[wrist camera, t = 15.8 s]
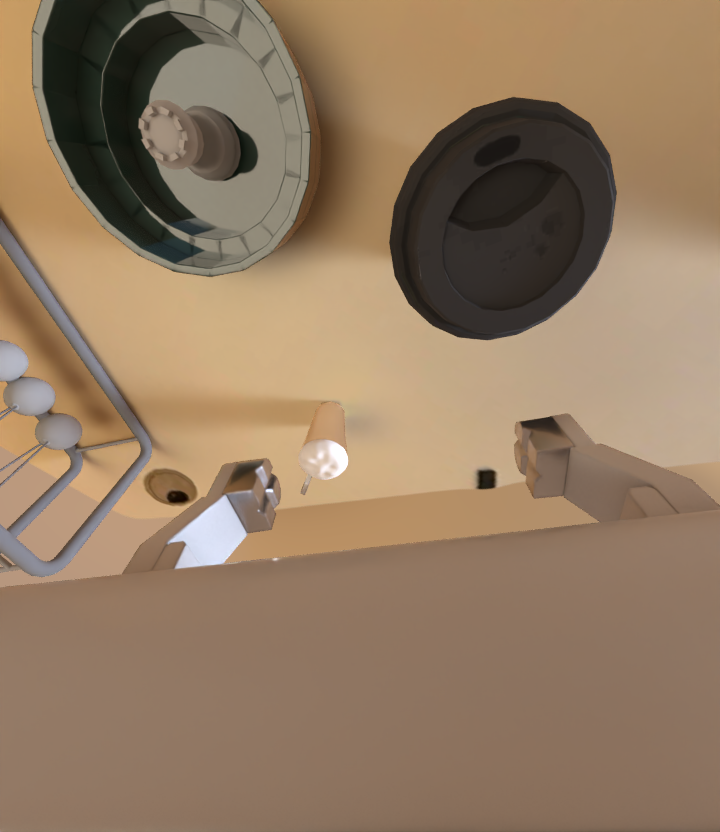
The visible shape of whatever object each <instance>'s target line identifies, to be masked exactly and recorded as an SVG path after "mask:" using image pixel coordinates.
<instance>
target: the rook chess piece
mask: <svg viewBox="0 0 720 832" xmlns="http://www.w3.org/2000/svg"><path fill="white" fill-rule="evenodd" d="M138 128H139V129H141V133H142V137H143V139H141V140H142V142H143V144H144V145H145V147H146V149H148V151H149V152H150V154H151V155H152V156H153V157H154V158H155V159H156V160H157V161H158V162H159V163H160V164H161V165H163V166H165V167H168V168H170V169H181V170H182V169H184V168H186V167H188V168H189V169H190V170H191V171H192V172H193V173H194V174H195V175H197V176H200V177H202V178H204V179H206V180H210V181H222V180H224V179H226V178H228V177H230V176H232V174H233V173H234V171H235V170H236V169H237V167H238V164H239V159H240V155H241V151H240V143H239V138H238V136H237V133H236V131H235V129H234V127H233V125H232V123H231V122H230V121H229V120H228V119H227V118H226V117H225V116H224V114H223V113H221V112H219V111H217V110H215V109H213V108H211V107H207V106H192V107H190V108H188V109H186V110H184V111H183V109H182V108H181V107H180V106H178V105H176V104H174V103H172V102H170V101H168V100H155V101H154V102H152V103H150V104H149V105H147V107H146V108H145V109H144V112H143V114H142V116H141V118H139V127H138Z"/></svg>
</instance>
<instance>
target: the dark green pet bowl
mask: <svg viewBox="0 0 720 832" xmlns="http://www.w3.org/2000/svg"><path fill="white" fill-rule="evenodd" d="M32 85H33V91H34V94H35V98H36V102H37V106H38V109H39V113H40V117H41V121H42V124H43V128H44V132H45V136H46V139H47V142H48V144H49V146H50V148H51V150H52V152H53V154H54V155H55V157H56V159H57V161H58V163H59V165H60V167H61V169H62V171H63V173H64V175H65V177H66V179H67V181H68V183H69V185H70V186H71V188H72V190H73V191H74V192H75V194H76V195H77V196H78V197H79V199H80V200H81V201H82V202H83V203H84V205H85V206H86V207H87V208H88V210H89V211H90V212H91V213H92V214H93V216H94V217H95V218H96V219H97V221H98V222H99V223H100V224H101V226H102V227H104V229H106V230H107V231H108V232H109V233H111V234H112V235H113V236H115V237H116V238H117V239H118V240H120V241H121V242H122V243H123V244H125V245H126V246H127V247H128V248H130V249H131V250H132V251H134V252H135V253H136V254H137V255H139V256H141V257H143V258H145V259H148V260H150V261H152V262H154V263H156V264H159V265H161V266H163V267H165V268H167V269H170V270H172V271H174V272H179V273H186V274H193V275H201V276H208V277H213V276H218V275H223V274H228V273H233V272H238V271H243V270H245V269H247V268H249V267H250V266H252V265H253V264H255V263H257V262H258V261H260V260H261V259H263V258H265V257H266V256H268V255H269V254H271V253H272V252H274V251H275V250H276V249H278V248H279V247H280V246H282V245H283V244H284V243H286V242H287V241H288V240H289V239H290V238H291V236H292V235H293V234H294V232H295V231H296V230H297V228H298V227H299V226H300V225H301V223H302V222H303V221H304V219H305V218H306V217H307V215H308V212H309V209H310V206H311V203H312V201H313V198H314V195H315V192H316V189H317V186H318V184H319V176H320V159H321V143H322V142H321V135H320V130H319V125H318V120H317V114H316V109H315V104H314V99H313V96H312V93H311V91H310V89H309V86H308V84H307V82H306V80H305V78H304V76H303V73H302V71H301V69H300V67H299V65H298V63H297V61H296V58H295V56H294V54H293V52H292V50H291V49H290V47H289V45H288V44H287V42H286V40H285V38H284V37H283V35H282V33H281V31H280V30H279V28H278V26H277V24H276V23H275V21H274V20H273V18H272V17H271V16H270V14H269V13H268V12H267V11H266V10H265V8H264V7H263V6H262V5H261V3H260V2H259V1H258V0H41V2H40V6H39V9H38V12H37V15H36V18H35V21H34V24H33V27H32ZM155 100H168V101H170V102H172V103H174V104H176V105H178V106H180V107H181V108H182V109H183V111H184V110H186V109H188V108H190V107H192V106H207V107H211V108H213V109H215V110H217V111H219V112H221V113H223V114H224V116H225V117H226V118H227V119H228V120H229V121H230V122H231V123H232V125H233V127H234V129H235V131H236V133H237V136H238V138H239V143H240V151H241V155H240V159H239V164H238V167H237V169H236V170H235V171H234V173H233V174H232V176H230V177H228V178H226V179H224V180H222V181H210V180H206V179H204V178H202V177H200V176H197V175H195V174H194V173H193V172H192V171H191V170H190V169H189V168H188V167H186V168H184V169H182V170H181V169H170V168H168V167H165V166H163V165H161V164H160V163H159V162H158V161H157V160H156V159H155V158H154V157H153V156H152V155H151V154H150V152H149V151H148V149H146V147H145V145H144V144H143V142H142V140H141V139H143V137H142V133H141V129H139V128H138V127H139V118H141V116H142V114H143V112H144V109H145V108H146V107H147V105H149V104H150V103H152V102H154V101H155Z"/></svg>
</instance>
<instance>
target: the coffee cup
mask: <svg viewBox="0 0 720 832" xmlns="http://www.w3.org/2000/svg"><path fill="white" fill-rule="evenodd" d="M616 194H617V192H616V186H615V181H614V175H613V170H612V164H611V159H610V155H609V153H608V151H607V150H606V148H605V147H604V145H603V143H602V142H601V140H600V139H599V137H598V135H597V134H596V132H595V131H594V129H593V127H592V126H591V124H590V123H589V122H587V121H586V120H584V119H583V118H581V117H579V116H578V115H576V114H575V113H573V112H572V111H570V110H569V109H567V108H565V107H564V106H562V105H561V104H559V103H557V102H549V101H541V100H533V99H525V98H516V97H512V98H508V99H505V100H501V101H497V102H494V103H490V104H487V105H483V106H479V107H476V108H473V109H471V110H470V111H468V112H467V113H466V114H464V115H463V116H461V117H460V118H458V119H457V120H455V121H454V122H453V123H451V124H450V125H448V126H447V127H445V128H444V129H443V130H441V131H440V132H438V133H437V134H436V135H435V137H434V138H433V139H432V140H431V142H430V143H429V144H428V145H427V147H426V148H425V149H424V151H423V152H422V153H421V154H420V156H419V157H418V158H417V159H416V161H415V162H414V163H413V164H412V166H411V167H410V169H409V171H408V174H407V176H406V179H405V181H404V183H403V186H402V188H401V190H400V193H399V195H398V197H397V200H396V202H395V205H394V211H393V219H392V227H391V234H390V242H389V243H390V249H391V256H392V262H393V268H394V274H395V278H396V280H397V281H398V283H399V285H400V287H401V289H402V291H403V293H404V295H405V297H406V299H407V301H408V303H409V304H410V305H411V306H412V307H413V308H414V309H415V310H416V311H417V312H418V313H419V314H420V315H421V316H422V317H423V318H424V319H426V320H427V321H428V322H429V323H430V324H432V325H433V326H434V327H437V328H439V329H441V330H443V331H446V332H448V333H450V334H452V335H454V336H457V337H460V338H470V339H480V340H492V339H497V338H502V337H507V336H512V335H517V334H519V333H521V332H523V331H526V330H528V329H530V328H532V327H534V326H536V325H538V324H540V323H542V322H544V321H546V320H548V319H549V318H550V317H551V316H552V315H554V314H555V313H556V312H557V311H558V310H560V309H561V308H562V307H563V306H564V305H566V304H567V303H568V302H569V301H570V300H572V299H573V298H574V297H575V296H576V295H577V294H578V292H579V291H580V290H581V288H582V287H583V286H584V284H585V283H586V282H587V280H588V279H589V278H590V276H591V275H592V274H593V272H594V271H595V270H596V268H597V266H598V264H599V261H600V259H601V256H602V254H603V252H604V249H605V247H606V245H607V242H608V240H609V237H610V234H611V231H612V224H613V216H614V209H615V201H616Z"/></svg>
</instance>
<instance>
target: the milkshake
mask: <svg viewBox="0 0 720 832" xmlns="http://www.w3.org/2000/svg"><path fill="white" fill-rule="evenodd" d="M299 464H300V467H301V468H302V470H303V471H304V472H306V473H307V474H308V475H307V477H306V480H305V482H304V485H303V487H302V490H301V494H303V495H305V493H306V491H307V488H308V485H309V483H310V480H311V478H312V477H314V478H317V479H321V480H326V479H331V478H334V477H337V476H338V475H340V474H341V473H342V472H343V471H344V470H345V469H346V467H347V464H348V457H347V445H346V436H345V411H344V409H343V408H342V407H341V406H340V405H339V404H338V403H334V402H331V401H329V402H325V403H321V405H320V406H319V407H318V408H317V409H316V411H315V414H314V417H313V420H312V422H311V425H310V428H309V430H308V433H307V436H306V438H305V441H304V443H303V446H302V448H301V450H300V452H299Z"/></svg>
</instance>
